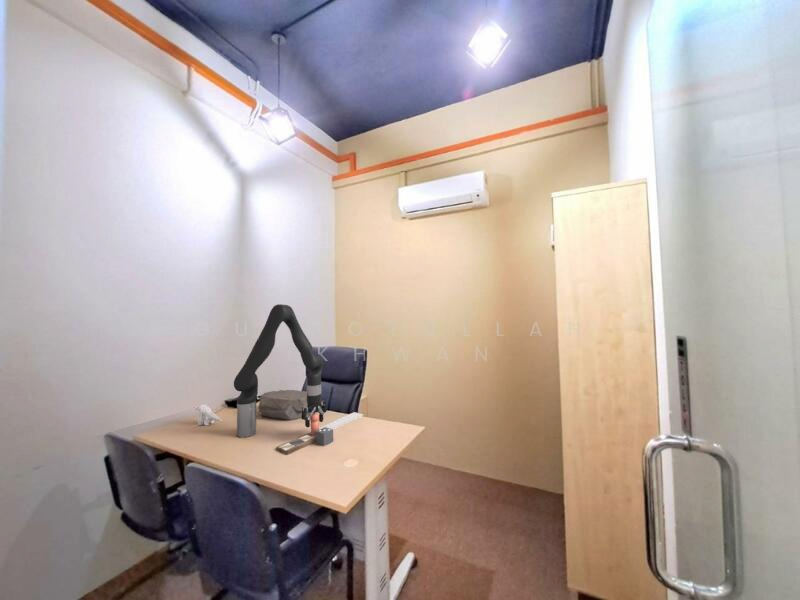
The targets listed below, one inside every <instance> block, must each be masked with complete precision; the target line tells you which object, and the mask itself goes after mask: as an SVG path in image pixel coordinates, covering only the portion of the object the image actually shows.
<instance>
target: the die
mask: <svg viewBox="0 0 800 600" xmlns="http://www.w3.org/2000/svg"><path fill="white" fill-rule="evenodd" d="M331 442H332V443H333V442H334V430H333V429H330V428H326V427H324V428H322V429H320V430H317V431H316V442H315V444H317V445H320V446H323V447H325V446H328V445H329V444H331Z"/></svg>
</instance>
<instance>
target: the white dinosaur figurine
mask: <svg viewBox="0 0 800 600" xmlns="http://www.w3.org/2000/svg"><path fill="white" fill-rule="evenodd" d="M193 409H194V410H196V411H198V417H197V425H198V426H203V425H204V426H206V427H208V426H209V425H210V424H214V422H222V423H224V421H223V420H222V419H221V417H219V416H218V415H217V414H216V413H214V412H213V411H212V409H211V408H210V406H208V404H205V403H203V404H201V405H199V406H197V407H193Z"/></svg>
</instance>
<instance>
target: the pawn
mask: <svg viewBox="0 0 800 600" xmlns="http://www.w3.org/2000/svg"><path fill="white" fill-rule="evenodd" d="M309 420H310V432H311V435H312V436H316V431H317V430H319V428H320V425H319V423H320V421H319V413H317V412H316V413H314V414H312V416H311V417H310V419H309Z"/></svg>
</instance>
